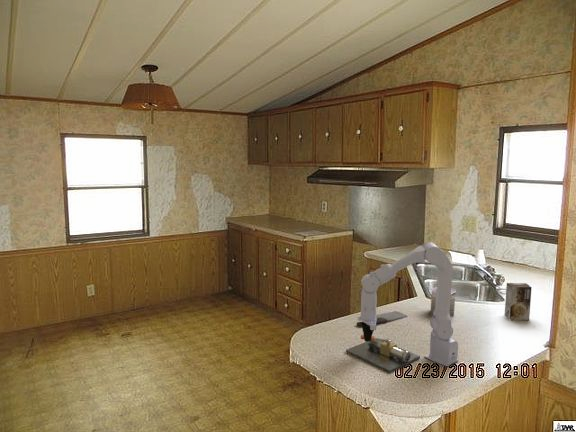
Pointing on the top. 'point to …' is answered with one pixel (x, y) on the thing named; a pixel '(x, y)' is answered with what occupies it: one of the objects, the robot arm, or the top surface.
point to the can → (452, 301)
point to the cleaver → (387, 317)
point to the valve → (383, 355)
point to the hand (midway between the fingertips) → (367, 341)
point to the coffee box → (518, 301)
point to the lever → (378, 339)
